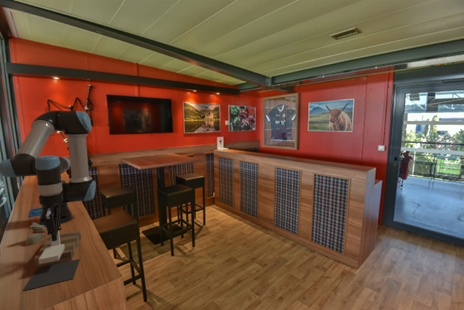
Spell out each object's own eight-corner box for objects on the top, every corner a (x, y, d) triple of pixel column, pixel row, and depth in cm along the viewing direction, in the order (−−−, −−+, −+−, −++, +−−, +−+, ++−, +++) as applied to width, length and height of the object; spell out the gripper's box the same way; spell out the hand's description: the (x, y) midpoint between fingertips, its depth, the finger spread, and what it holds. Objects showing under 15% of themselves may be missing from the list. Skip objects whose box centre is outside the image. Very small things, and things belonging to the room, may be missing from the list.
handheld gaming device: (28, 216, 131) (30, 208, 142) (28, 217, 131) (31, 210, 142) (46, 213, 136) (47, 206, 148) (46, 214, 136) (47, 207, 148)
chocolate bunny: (47, 240, 106) (45, 221, 104) (26, 246, 100) (23, 226, 98) (45, 236, 109) (43, 217, 108) (24, 242, 103) (21, 223, 102)
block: (46, 251, 89) (46, 247, 89) (64, 248, 92) (64, 243, 92) (38, 264, 81) (38, 259, 81) (58, 260, 84) (58, 255, 84)
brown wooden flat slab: (51, 243, 103) (50, 235, 102) (81, 237, 108) (80, 230, 108) (35, 267, 85) (34, 258, 85) (71, 260, 90) (71, 251, 90)
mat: (37, 268, 85) (37, 267, 85) (79, 259, 91) (79, 258, 91) (23, 291, 73) (23, 290, 73) (73, 279, 79) (72, 278, 79)
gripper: (44, 190, 92) (49, 241, 95) (32, 199, 81) (39, 257, 84) (66, 188, 96) (70, 237, 99) (57, 196, 84) (62, 252, 87)
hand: (56, 246), depth 91 cm, fingers closed
